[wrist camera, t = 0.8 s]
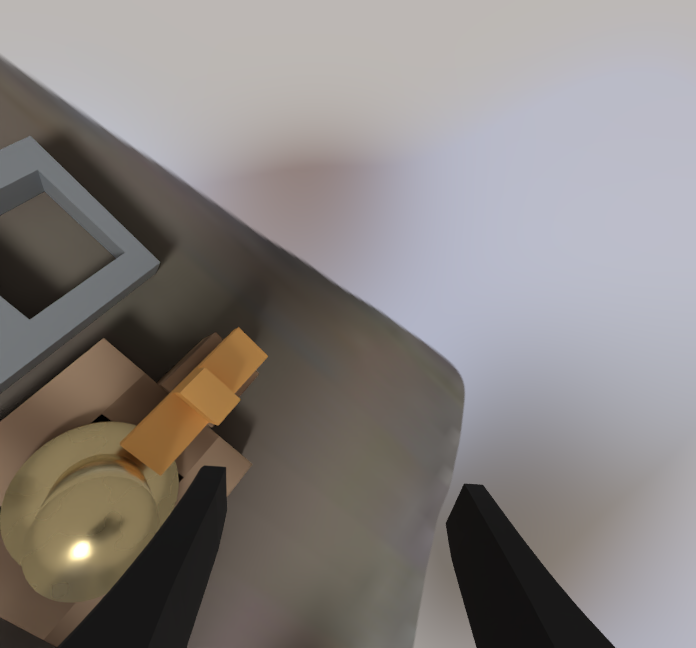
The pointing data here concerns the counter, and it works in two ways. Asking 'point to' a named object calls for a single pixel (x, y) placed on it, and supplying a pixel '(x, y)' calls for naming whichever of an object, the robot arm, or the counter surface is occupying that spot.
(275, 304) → the counter surface
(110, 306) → the rack
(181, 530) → the robot arm
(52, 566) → the brass peg
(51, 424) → the socket block
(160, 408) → the latch bar
